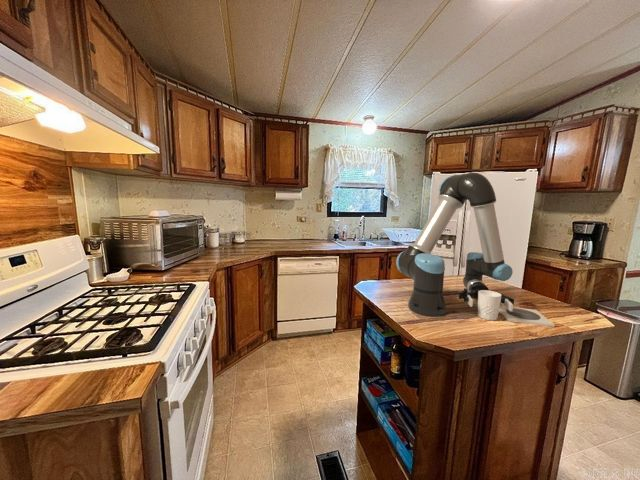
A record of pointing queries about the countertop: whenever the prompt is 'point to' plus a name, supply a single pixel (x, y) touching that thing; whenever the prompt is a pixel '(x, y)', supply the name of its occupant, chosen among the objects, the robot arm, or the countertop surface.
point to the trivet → (525, 316)
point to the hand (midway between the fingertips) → (491, 305)
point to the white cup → (488, 304)
